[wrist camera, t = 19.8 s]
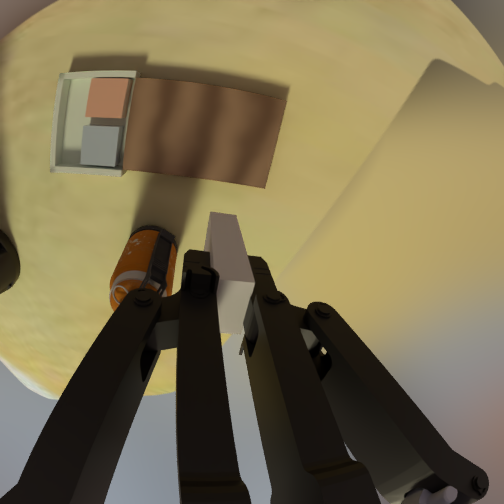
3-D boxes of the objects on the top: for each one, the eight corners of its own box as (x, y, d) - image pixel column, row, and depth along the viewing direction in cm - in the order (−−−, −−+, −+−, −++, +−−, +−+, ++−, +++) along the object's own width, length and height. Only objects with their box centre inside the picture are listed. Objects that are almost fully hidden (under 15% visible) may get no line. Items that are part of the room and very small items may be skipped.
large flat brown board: (126, 166, 39) (122, 169, 37) (139, 79, 33) (135, 77, 30) (261, 184, 44) (264, 188, 42) (282, 101, 38) (286, 101, 36)
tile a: (91, 116, 33) (84, 117, 31) (97, 79, 31) (91, 78, 28) (125, 117, 35) (121, 118, 33) (133, 80, 32) (128, 78, 30)
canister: (120, 252, 46) (86, 331, 29) (151, 204, 43) (119, 272, 26) (160, 276, 50) (147, 362, 33) (194, 233, 47) (191, 313, 30)
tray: (58, 167, 36) (50, 172, 34) (68, 74, 29) (59, 73, 26) (126, 172, 39) (121, 176, 37) (141, 73, 32) (136, 70, 30)
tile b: (86, 160, 37) (80, 164, 34) (89, 124, 34) (83, 125, 32) (119, 163, 38) (115, 166, 36) (124, 125, 35) (119, 126, 33)
